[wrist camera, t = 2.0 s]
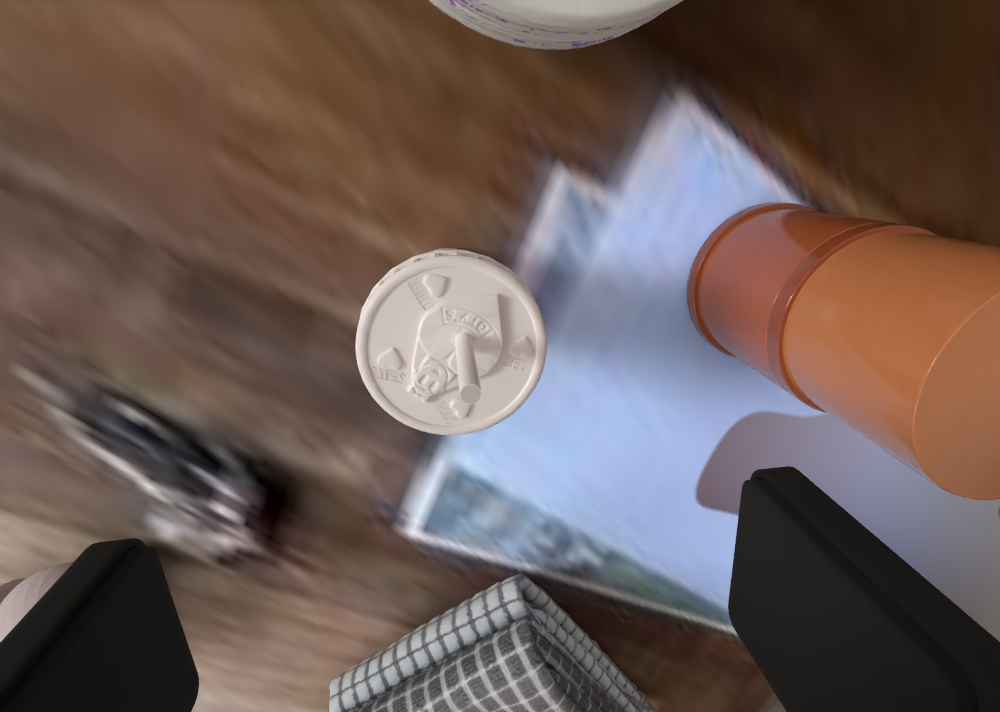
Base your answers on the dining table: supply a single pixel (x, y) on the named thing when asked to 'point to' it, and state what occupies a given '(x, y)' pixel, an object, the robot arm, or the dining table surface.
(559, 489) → the dining table surface
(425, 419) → the smoothie
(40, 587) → the ice cream cone
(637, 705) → the towel
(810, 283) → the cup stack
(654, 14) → the paper bowls
